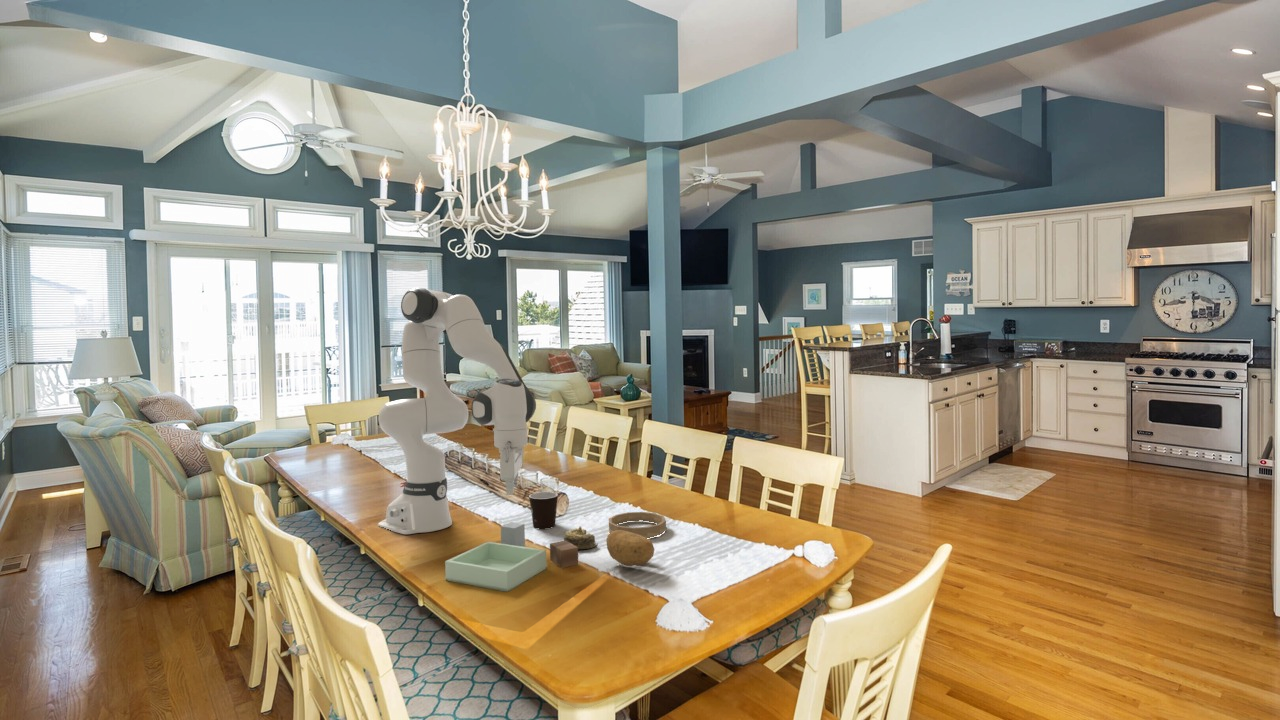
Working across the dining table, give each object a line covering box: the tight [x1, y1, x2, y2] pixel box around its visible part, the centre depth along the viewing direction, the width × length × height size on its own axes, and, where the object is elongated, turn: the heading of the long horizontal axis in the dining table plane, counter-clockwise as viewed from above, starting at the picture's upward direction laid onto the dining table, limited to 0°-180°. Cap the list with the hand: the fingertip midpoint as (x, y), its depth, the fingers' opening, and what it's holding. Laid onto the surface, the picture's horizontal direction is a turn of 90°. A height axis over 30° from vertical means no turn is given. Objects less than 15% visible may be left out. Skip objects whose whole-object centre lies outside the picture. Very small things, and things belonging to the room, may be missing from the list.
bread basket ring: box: [608, 511, 667, 538], centre depth 189 cm, size 17×17×4 cm
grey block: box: [500, 521, 526, 547], centre depth 173 cm, size 4×4×7 cm
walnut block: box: [549, 539, 579, 569], centre depth 164 cm, size 4×4×7 cm
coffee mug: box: [528, 491, 559, 530], centre depth 195 cm, size 12×9×10 cm
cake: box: [563, 526, 598, 550], centre depth 177 cm, size 10×10×5 cm
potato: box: [605, 530, 655, 567], centre depth 161 cm, size 10×14×8 cm
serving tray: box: [444, 541, 548, 593], centre depth 156 cm, size 18×16×5 cm
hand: (512, 490), depth 173 cm, fingers open, 8 cm apart
